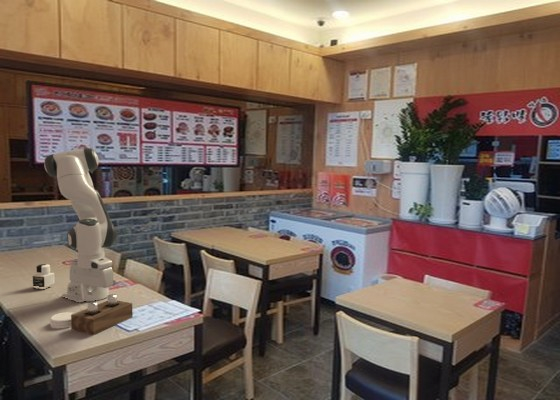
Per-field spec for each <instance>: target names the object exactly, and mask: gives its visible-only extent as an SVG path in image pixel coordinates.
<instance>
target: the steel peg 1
mask: <svg viewBox="0 0 560 400" xmlns="http://www.w3.org/2000/svg"><path fill="white" fill-rule="evenodd" d="M86 303H87V308H88V315H92V316H93V315H95V314H97V313H98V304H99V303H98V301H88V302H86Z"/></svg>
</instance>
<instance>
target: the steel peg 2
mask: <svg viewBox="0 0 560 400" xmlns="http://www.w3.org/2000/svg"><path fill="white" fill-rule="evenodd" d="M106 298H107V301H108V307H114V306H117V301H118V295H117V293H114V294H113V293H112V294H109V295H108V296H107V297H106Z"/></svg>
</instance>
